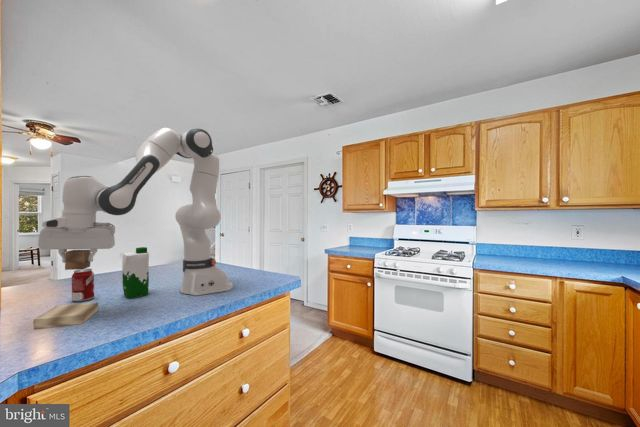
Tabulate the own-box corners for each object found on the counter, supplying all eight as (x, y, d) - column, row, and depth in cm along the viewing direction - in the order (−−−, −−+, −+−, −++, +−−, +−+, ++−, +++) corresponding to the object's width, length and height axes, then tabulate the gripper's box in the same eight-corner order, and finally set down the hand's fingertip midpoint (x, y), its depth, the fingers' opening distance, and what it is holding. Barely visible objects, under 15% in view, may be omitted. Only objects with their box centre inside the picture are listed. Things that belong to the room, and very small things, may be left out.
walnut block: (90, 266, 96) (90, 249, 96) (83, 269, 92) (83, 251, 92) (72, 266, 95) (73, 249, 95) (64, 269, 90) (65, 251, 90)
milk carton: (151, 294, 115) (150, 248, 114) (125, 300, 108) (125, 250, 108) (145, 290, 121) (145, 246, 120) (120, 295, 114) (120, 248, 114)
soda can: (81, 303, 104) (80, 272, 104) (67, 301, 105) (66, 271, 105) (98, 297, 111) (98, 268, 110) (85, 296, 112) (85, 267, 112)
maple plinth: (98, 310, 98) (98, 302, 98) (82, 323, 86) (82, 314, 86) (55, 314, 93) (55, 305, 93) (33, 329, 82) (33, 319, 82)
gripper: (118, 222, 100) (117, 259, 100) (47, 221, 93) (46, 261, 93) (111, 223, 94) (110, 262, 94) (35, 222, 87) (34, 264, 87)
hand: (78, 262), depth 93 cm, fingers closed on walnut block, 5 cm apart
